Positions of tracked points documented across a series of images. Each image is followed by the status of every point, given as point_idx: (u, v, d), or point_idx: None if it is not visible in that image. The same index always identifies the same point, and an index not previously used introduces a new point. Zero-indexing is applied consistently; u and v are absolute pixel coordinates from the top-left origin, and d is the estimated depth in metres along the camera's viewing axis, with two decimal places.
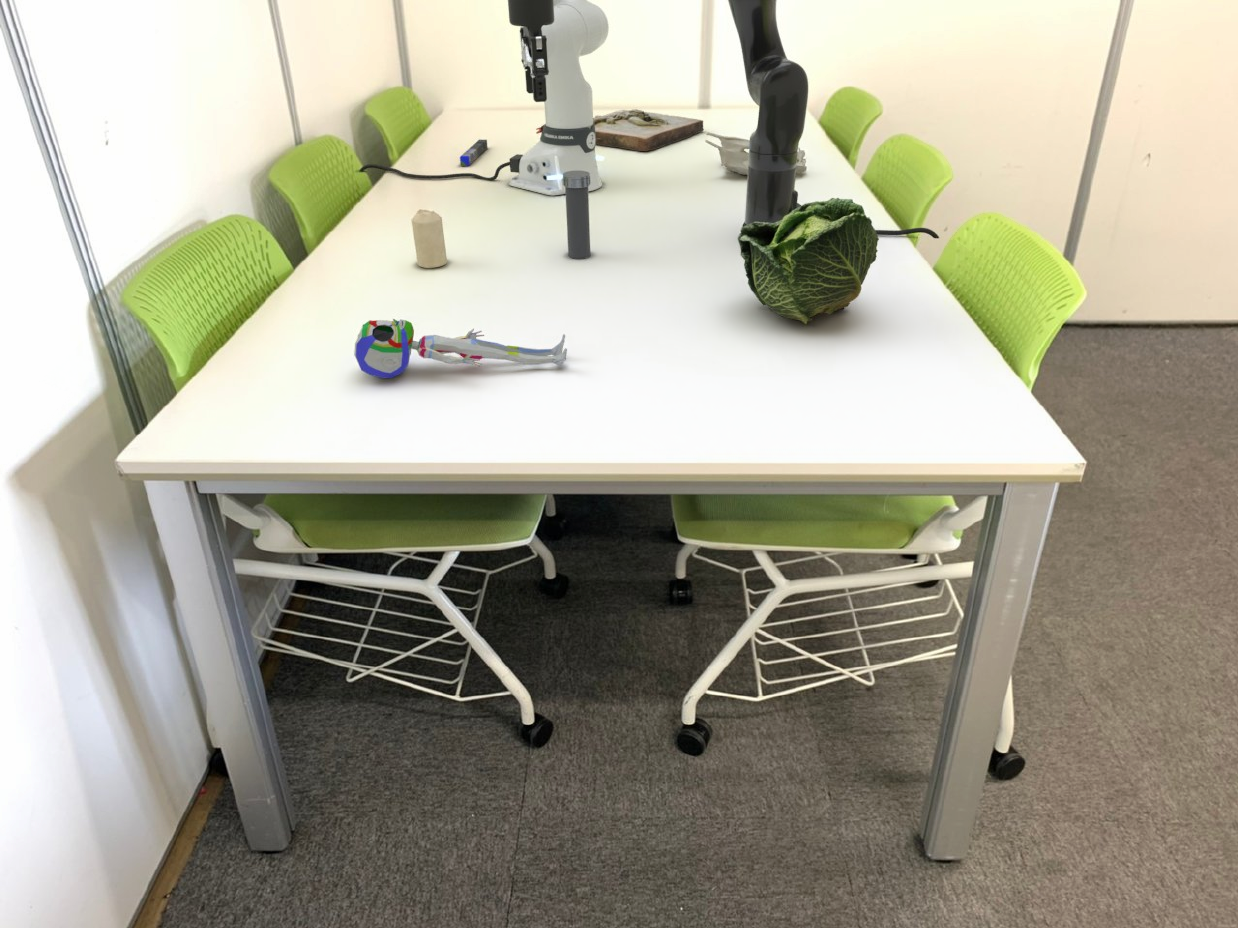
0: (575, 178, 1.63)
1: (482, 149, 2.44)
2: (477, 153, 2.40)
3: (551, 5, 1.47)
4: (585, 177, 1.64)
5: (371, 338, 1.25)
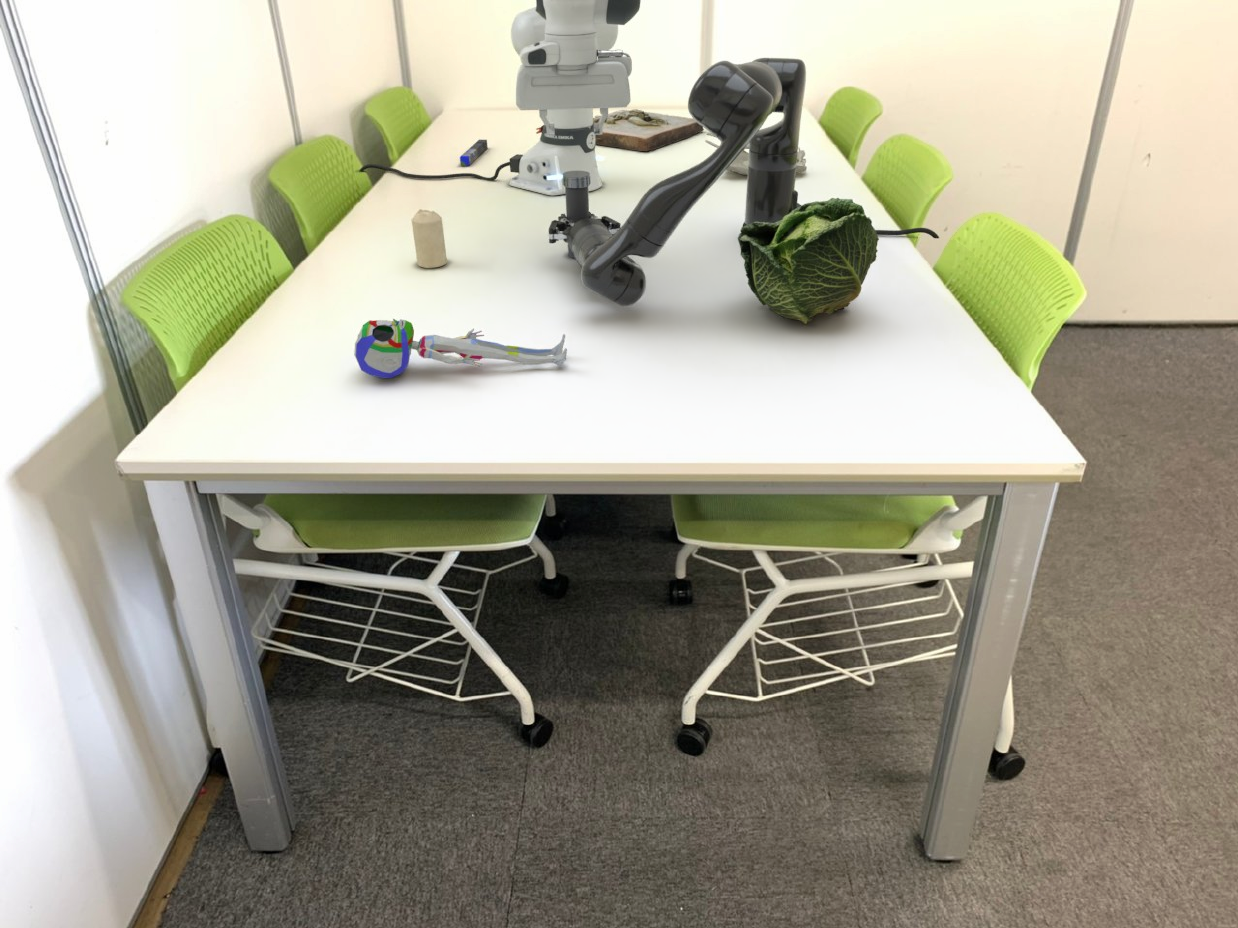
0: (575, 178, 1.63)
1: (482, 149, 2.44)
2: (477, 153, 2.40)
3: (601, 224, 1.58)
4: (585, 177, 1.64)
5: (371, 338, 1.25)
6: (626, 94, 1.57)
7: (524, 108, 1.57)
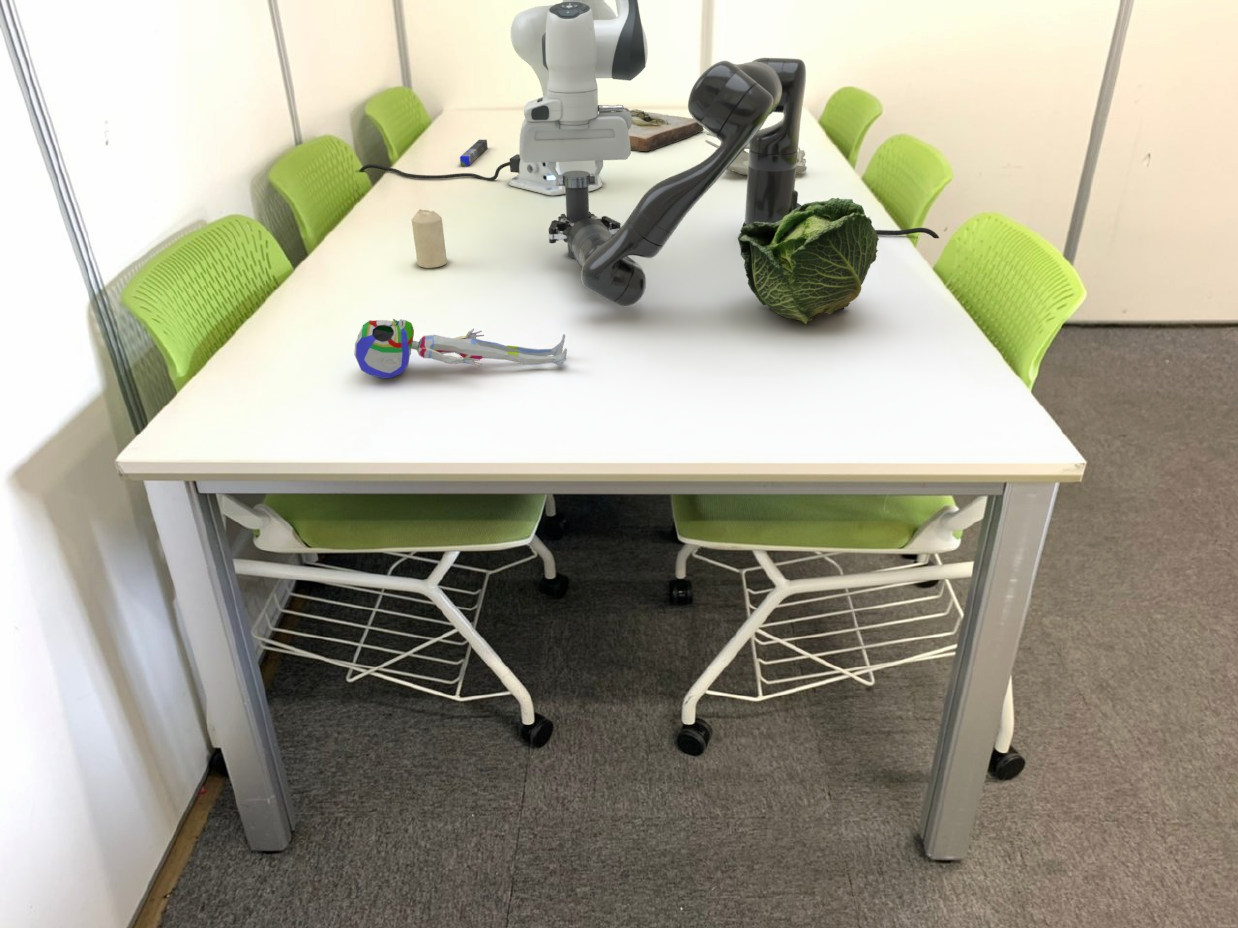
0: (575, 178, 1.63)
1: (482, 149, 2.44)
2: (477, 153, 2.40)
3: (602, 224, 1.58)
4: (585, 177, 1.64)
5: (371, 338, 1.25)
6: (626, 147, 1.61)
7: (527, 161, 1.61)
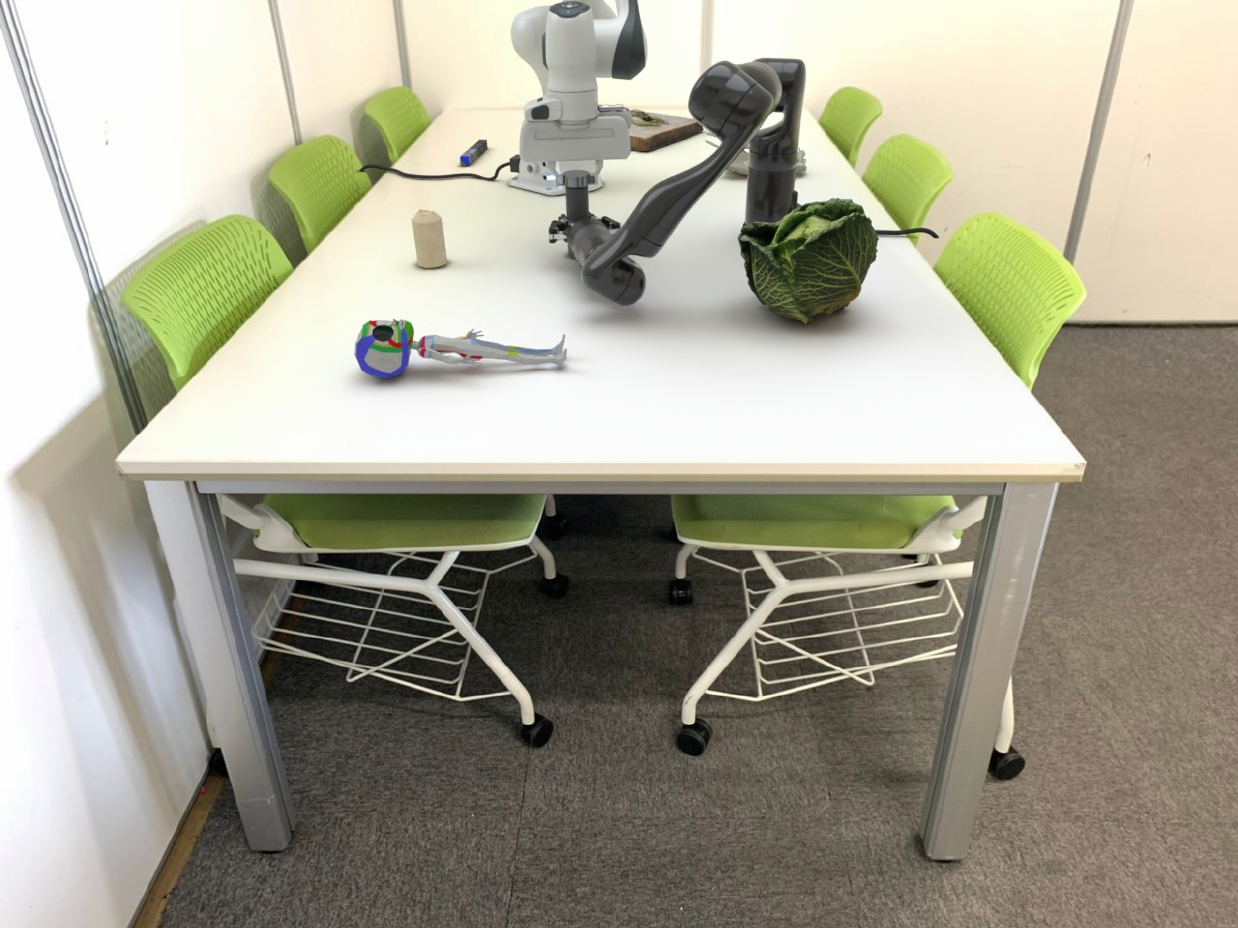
0: (588, 175, 1.64)
1: (482, 149, 2.44)
2: (477, 153, 2.40)
3: (602, 224, 1.58)
4: None
5: (371, 338, 1.25)
6: (626, 147, 1.61)
7: (527, 160, 1.61)
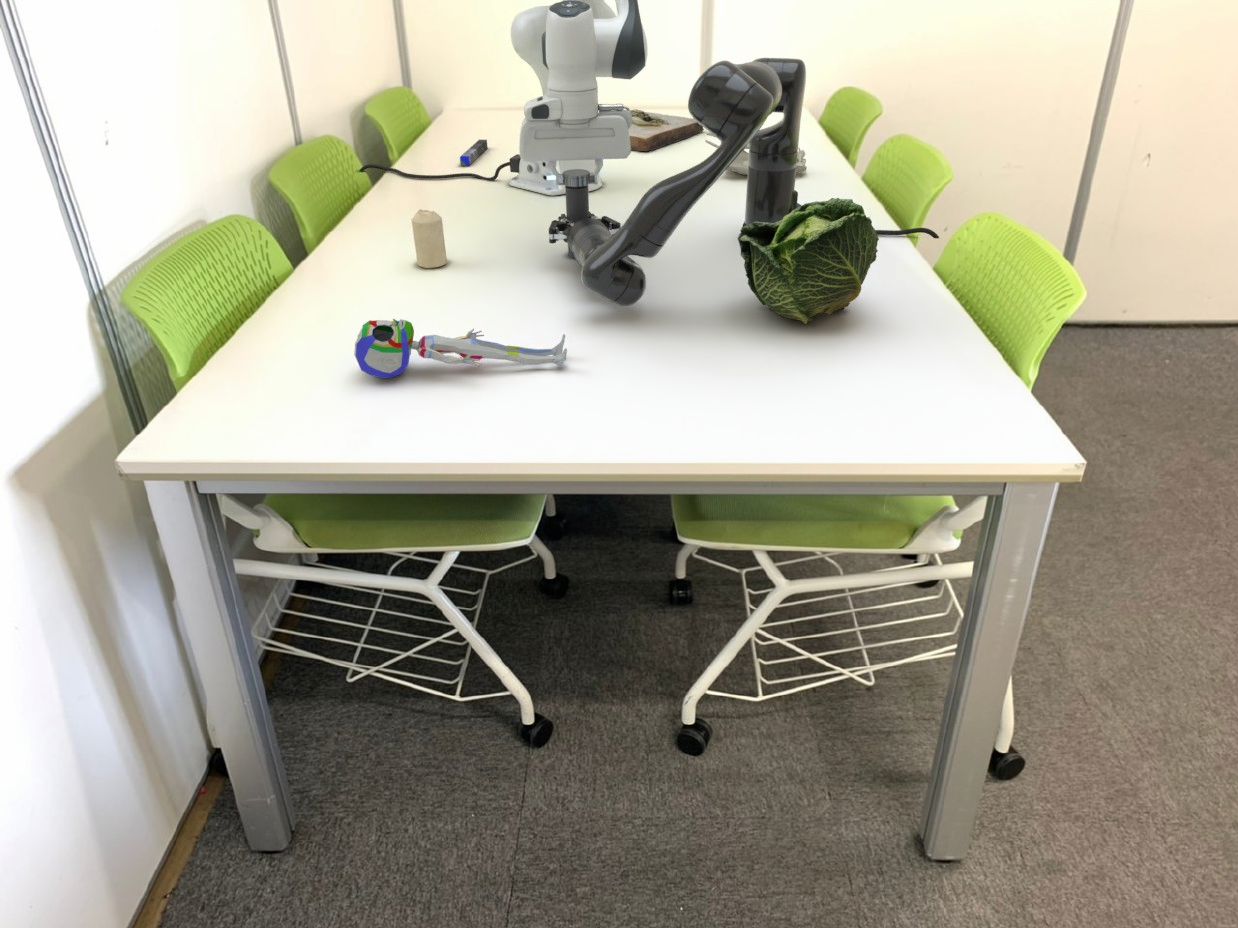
0: None
1: (482, 149, 2.44)
2: (477, 153, 2.40)
3: (602, 224, 1.58)
4: None
5: (371, 338, 1.25)
6: (626, 146, 1.61)
7: (527, 160, 1.61)
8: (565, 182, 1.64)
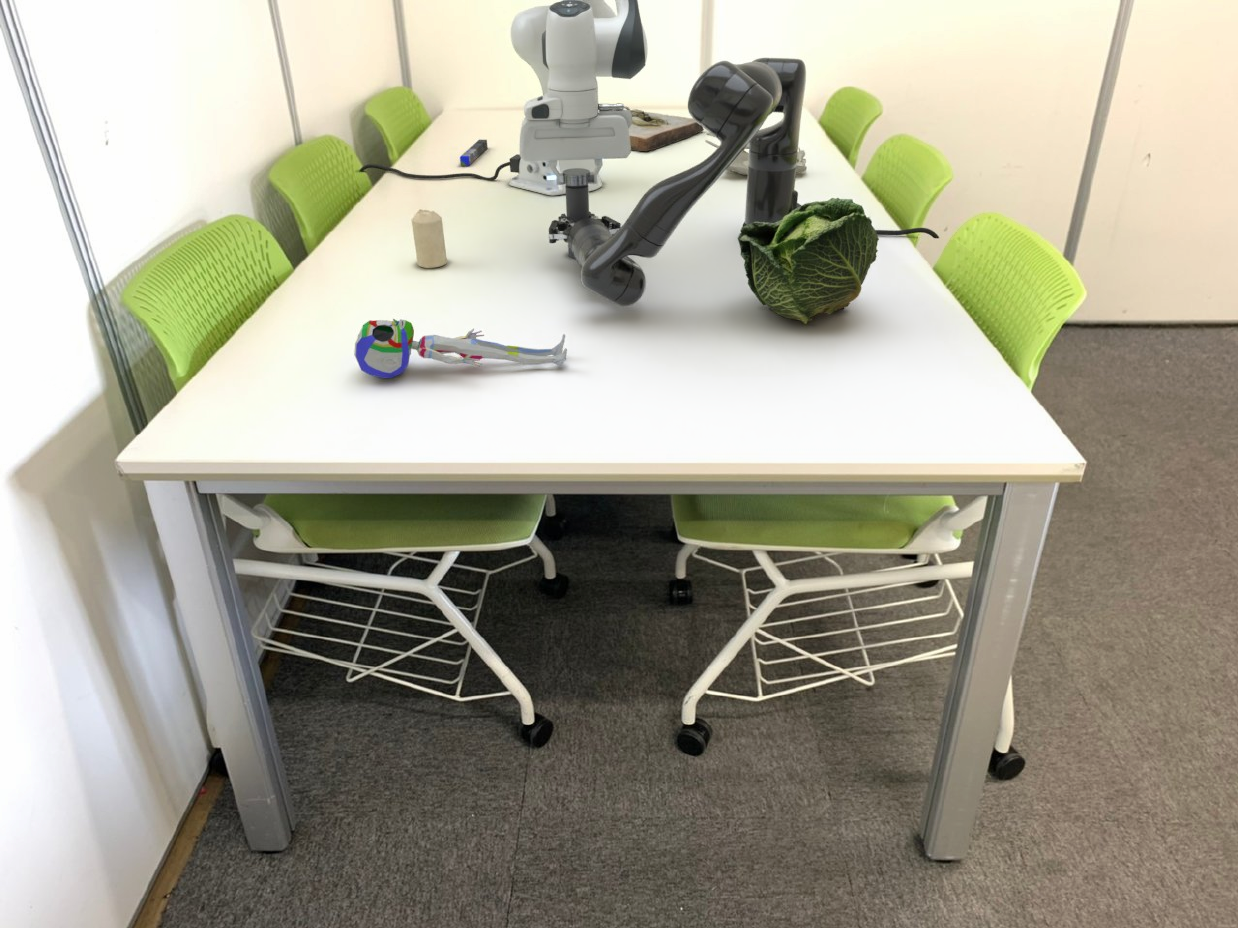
0: None
1: (482, 149, 2.44)
2: (477, 153, 2.40)
3: (602, 224, 1.58)
4: None
5: (371, 338, 1.25)
6: (626, 146, 1.61)
7: (527, 159, 1.61)
8: (581, 182, 1.64)
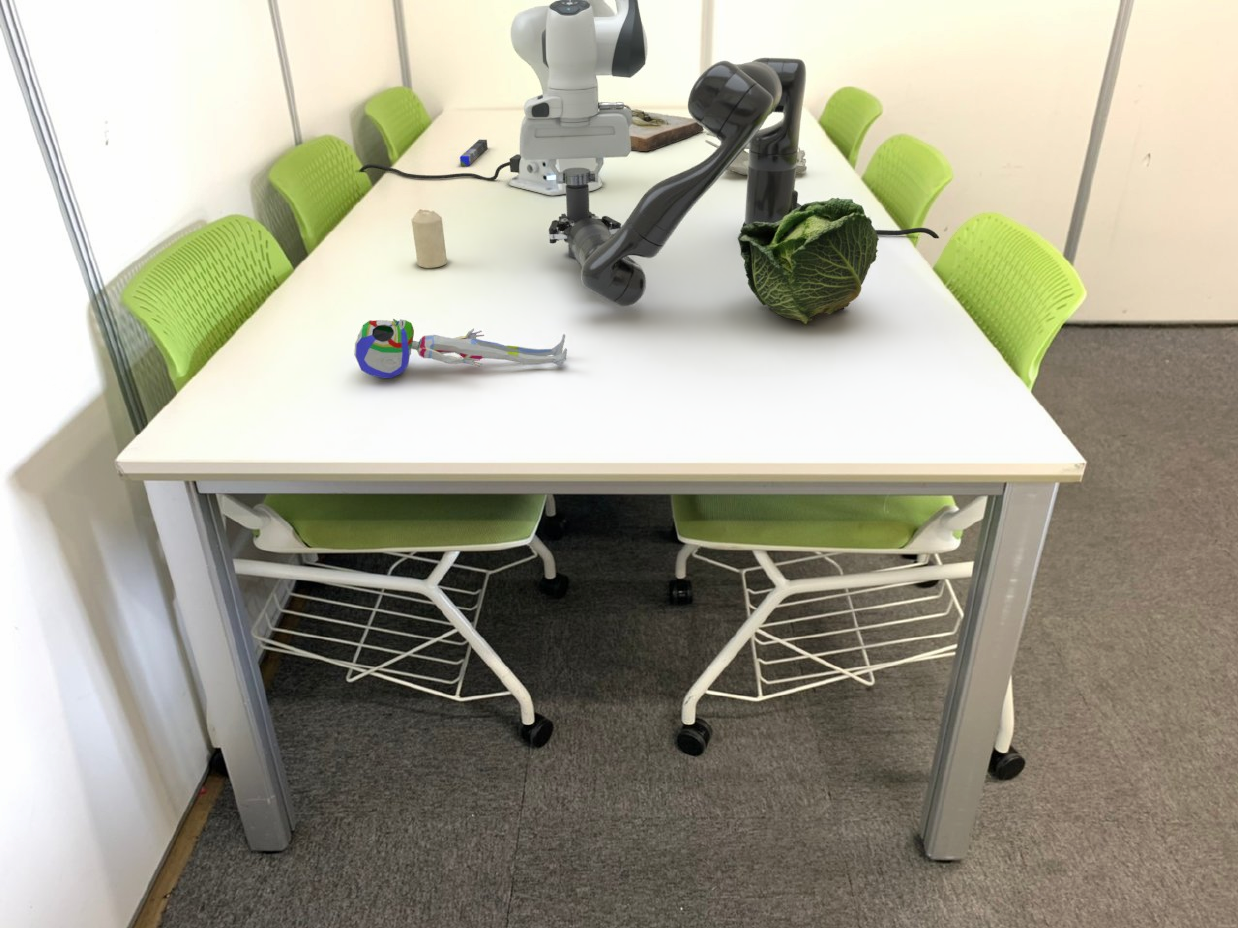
0: (564, 173, 1.64)
1: (482, 149, 2.44)
2: (477, 153, 2.40)
3: (602, 224, 1.58)
4: (571, 175, 1.63)
5: (371, 338, 1.25)
6: (627, 145, 1.61)
7: (528, 158, 1.61)
8: None
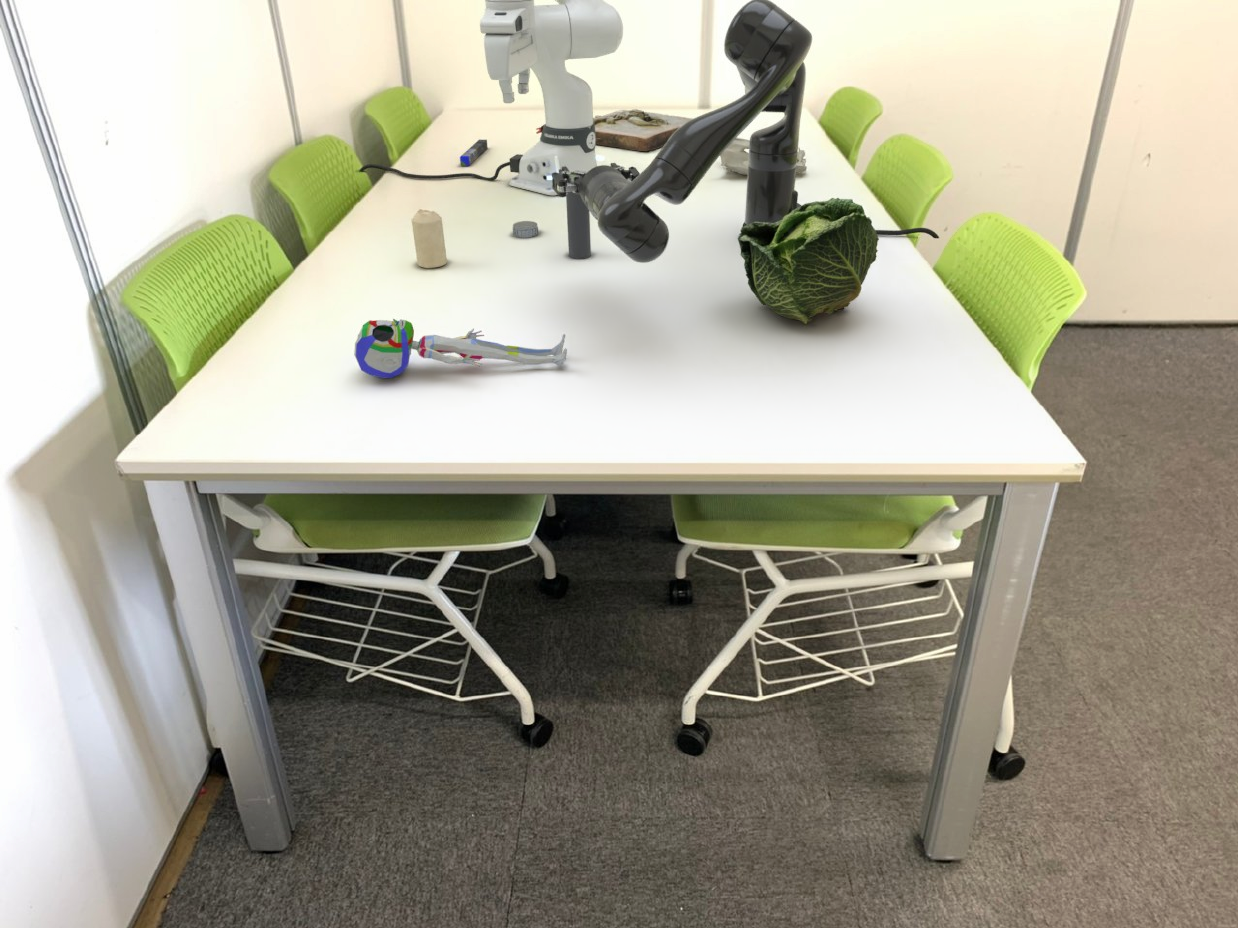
0: (536, 226, 1.83)
1: (482, 149, 2.44)
2: (477, 153, 2.40)
3: (618, 172, 1.40)
4: None
5: (371, 338, 1.25)
6: (536, 52, 1.75)
7: (509, 77, 1.61)
8: None
